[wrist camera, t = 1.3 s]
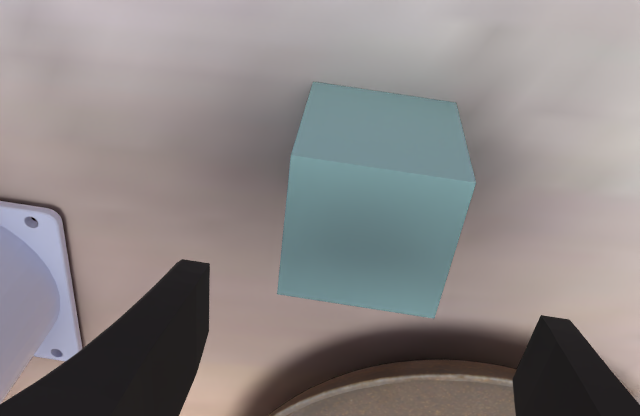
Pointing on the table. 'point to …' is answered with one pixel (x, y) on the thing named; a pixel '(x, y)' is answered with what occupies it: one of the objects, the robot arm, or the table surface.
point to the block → (374, 200)
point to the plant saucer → (411, 391)
